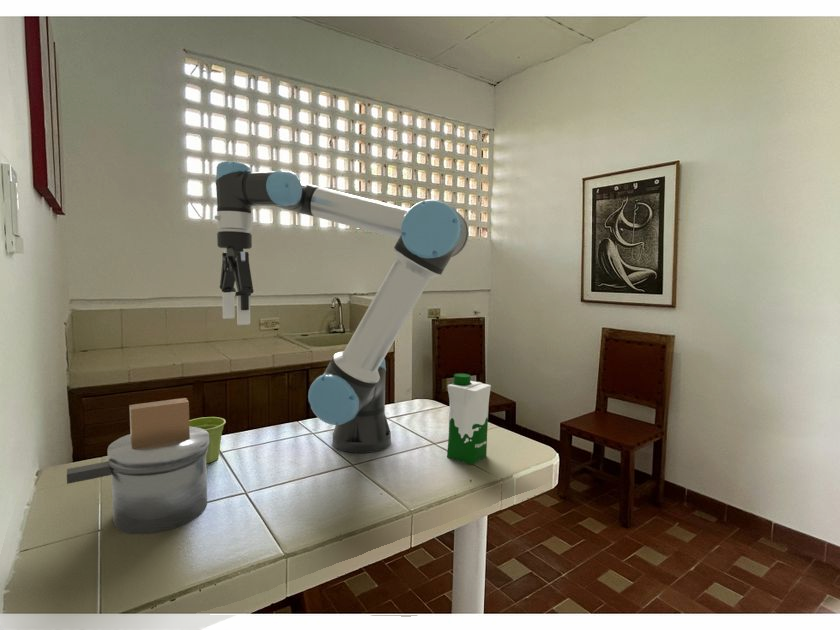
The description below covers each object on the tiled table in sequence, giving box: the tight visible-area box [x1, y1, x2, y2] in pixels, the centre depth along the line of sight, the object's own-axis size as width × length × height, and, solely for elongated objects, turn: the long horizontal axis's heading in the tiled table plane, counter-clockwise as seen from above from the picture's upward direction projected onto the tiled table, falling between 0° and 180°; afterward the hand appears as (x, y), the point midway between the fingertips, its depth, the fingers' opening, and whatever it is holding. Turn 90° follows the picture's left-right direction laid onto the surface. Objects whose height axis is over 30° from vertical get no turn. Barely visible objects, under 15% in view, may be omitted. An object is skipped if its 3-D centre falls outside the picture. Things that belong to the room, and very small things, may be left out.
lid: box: [106, 397, 209, 466], centre depth 83 cm, size 16×16×8 cm
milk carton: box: [446, 372, 492, 466], centre depth 111 cm, size 9×9×20 cm
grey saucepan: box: [66, 446, 208, 535], centre depth 82 cm, size 21×16×12 cm
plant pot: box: [189, 416, 227, 464], centre depth 107 cm, size 9×9×9 cm
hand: (235, 321), depth 110 cm, fingers open, 13 cm apart
